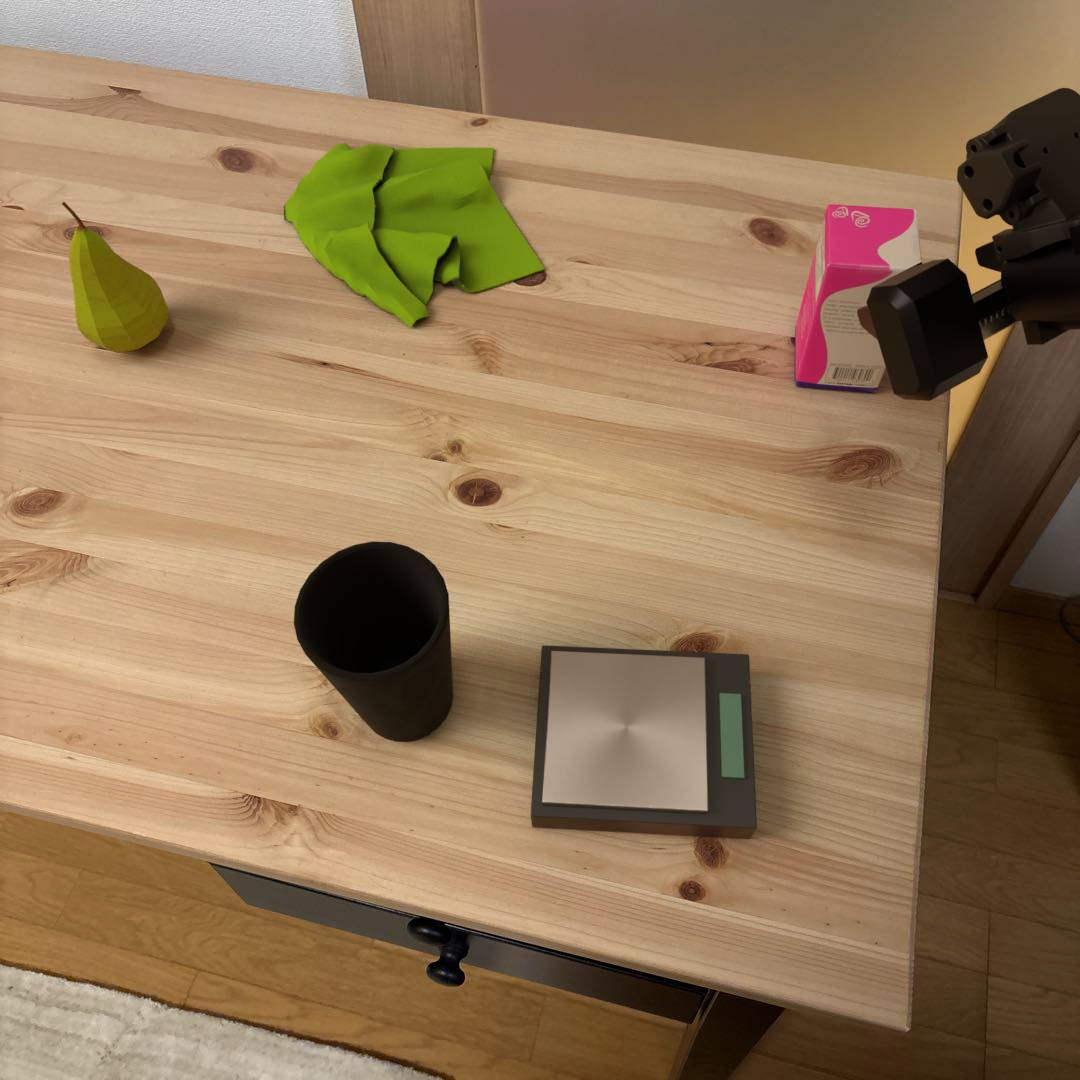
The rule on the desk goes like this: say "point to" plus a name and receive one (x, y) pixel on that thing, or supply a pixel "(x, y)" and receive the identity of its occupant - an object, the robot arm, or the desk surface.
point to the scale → (644, 742)
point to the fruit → (112, 295)
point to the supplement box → (850, 294)
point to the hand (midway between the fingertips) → (920, 286)
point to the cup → (381, 636)
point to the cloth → (408, 224)
